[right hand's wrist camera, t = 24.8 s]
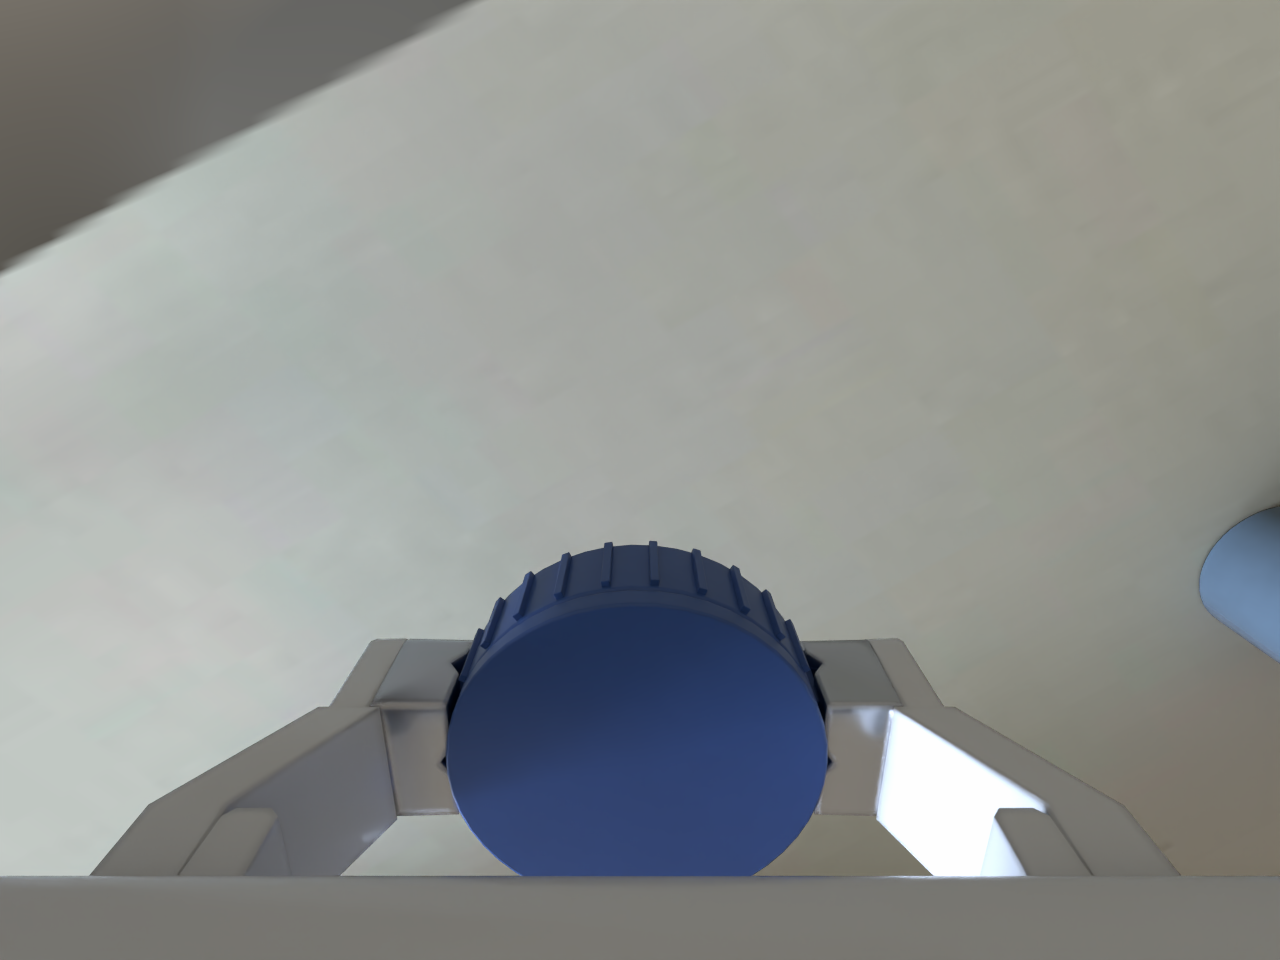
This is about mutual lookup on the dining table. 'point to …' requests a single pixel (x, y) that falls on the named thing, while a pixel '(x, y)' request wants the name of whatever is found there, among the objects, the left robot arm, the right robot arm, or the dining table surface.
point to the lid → (636, 721)
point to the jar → (1247, 581)
